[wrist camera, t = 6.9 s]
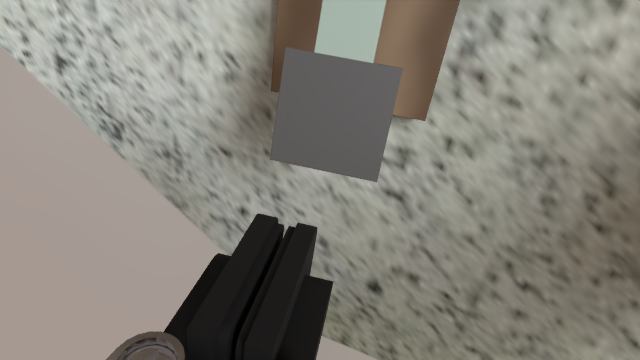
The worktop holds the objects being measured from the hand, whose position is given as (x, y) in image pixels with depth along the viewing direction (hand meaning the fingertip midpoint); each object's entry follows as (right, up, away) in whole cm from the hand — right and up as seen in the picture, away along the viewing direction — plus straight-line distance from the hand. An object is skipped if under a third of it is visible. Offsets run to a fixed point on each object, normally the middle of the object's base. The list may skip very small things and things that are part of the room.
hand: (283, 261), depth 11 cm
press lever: (+3, +12, +9) cm, 16 cm away
